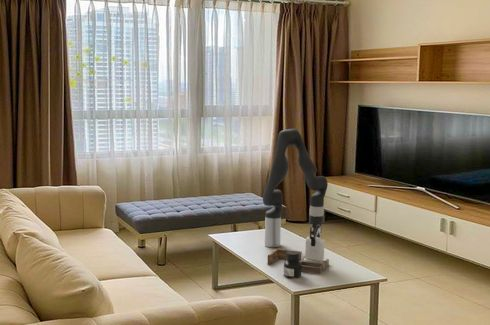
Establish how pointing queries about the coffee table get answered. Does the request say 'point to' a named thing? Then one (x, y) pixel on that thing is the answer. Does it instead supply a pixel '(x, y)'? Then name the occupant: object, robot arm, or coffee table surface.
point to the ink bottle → (292, 265)
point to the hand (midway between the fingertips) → (315, 244)
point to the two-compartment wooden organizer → (314, 265)
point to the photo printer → (315, 249)
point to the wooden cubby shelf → (278, 255)
